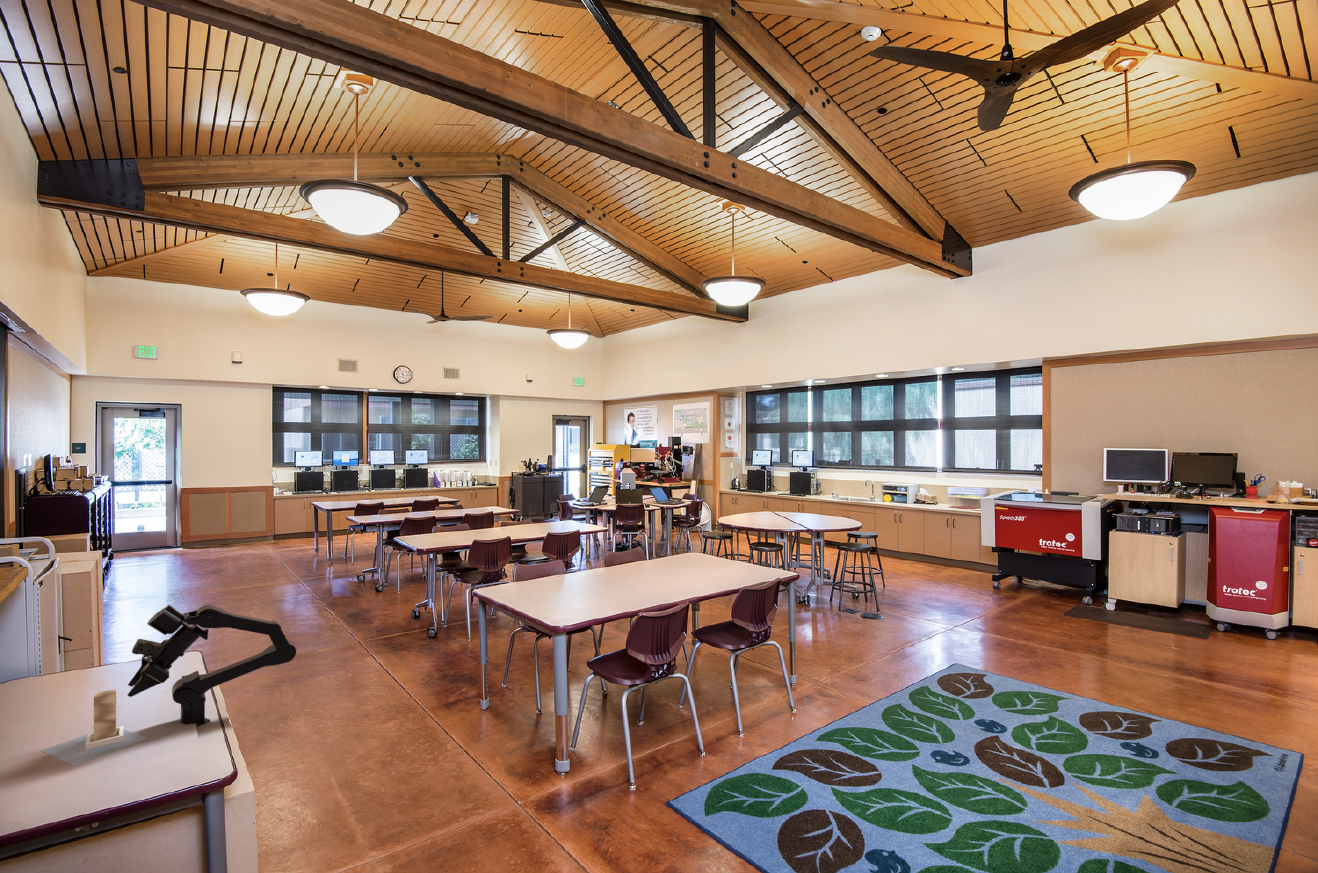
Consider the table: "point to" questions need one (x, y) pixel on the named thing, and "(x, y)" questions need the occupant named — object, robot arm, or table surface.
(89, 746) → the socket frame
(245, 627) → the robot arm
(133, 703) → the table surface
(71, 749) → the base board
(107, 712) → the maple pillar
